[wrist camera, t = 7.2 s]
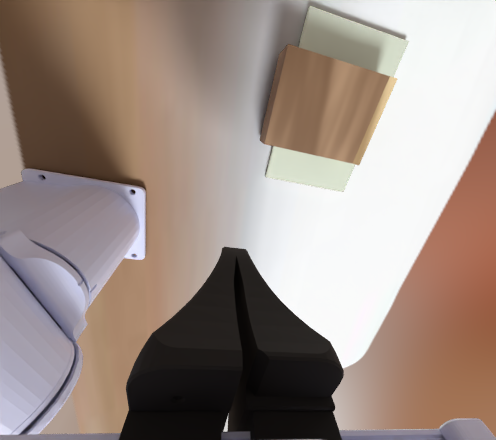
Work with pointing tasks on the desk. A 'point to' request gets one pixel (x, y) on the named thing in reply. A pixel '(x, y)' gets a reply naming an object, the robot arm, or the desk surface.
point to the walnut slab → (324, 105)
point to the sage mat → (347, 50)
